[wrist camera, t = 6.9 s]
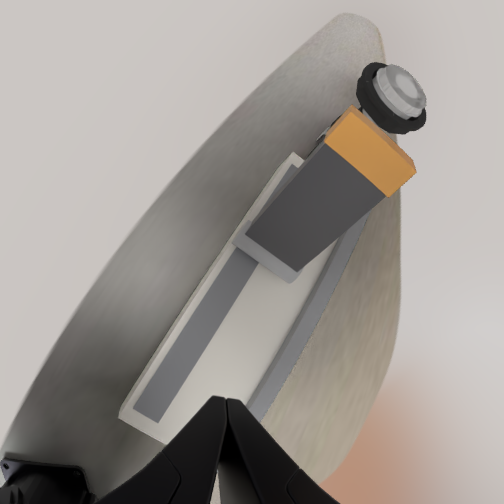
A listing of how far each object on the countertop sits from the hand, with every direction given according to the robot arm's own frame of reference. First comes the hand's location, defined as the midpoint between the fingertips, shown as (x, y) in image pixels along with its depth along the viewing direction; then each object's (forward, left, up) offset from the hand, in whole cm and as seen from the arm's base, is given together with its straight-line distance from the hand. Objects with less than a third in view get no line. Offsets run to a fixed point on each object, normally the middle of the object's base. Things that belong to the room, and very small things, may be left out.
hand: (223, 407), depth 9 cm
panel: (+5, +3, -11) cm, 13 cm away
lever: (+5, +6, -8) cm, 11 cm away
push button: (+13, +16, -11) cm, 24 cm away
